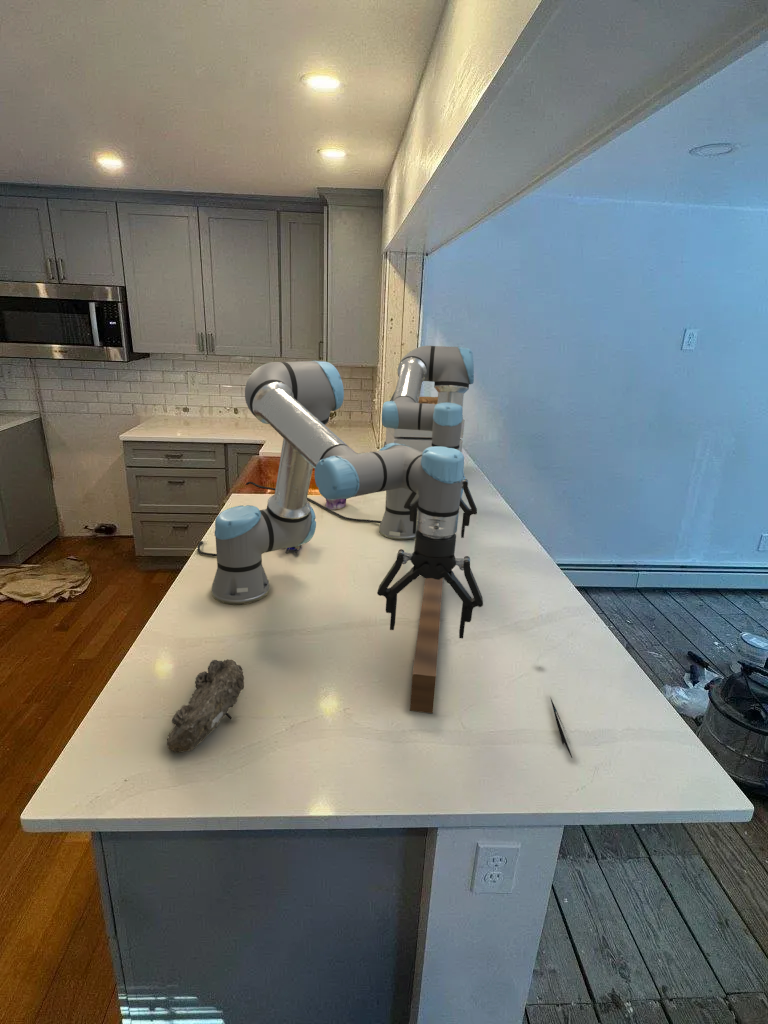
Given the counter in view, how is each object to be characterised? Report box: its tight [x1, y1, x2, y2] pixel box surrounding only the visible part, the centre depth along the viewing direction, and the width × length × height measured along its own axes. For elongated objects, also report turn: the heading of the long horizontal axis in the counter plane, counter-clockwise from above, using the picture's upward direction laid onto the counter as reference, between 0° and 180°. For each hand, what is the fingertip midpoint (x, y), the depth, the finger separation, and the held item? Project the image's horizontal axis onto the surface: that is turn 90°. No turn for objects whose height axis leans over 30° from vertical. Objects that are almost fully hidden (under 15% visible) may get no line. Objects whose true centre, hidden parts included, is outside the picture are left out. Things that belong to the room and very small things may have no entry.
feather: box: [539, 666, 573, 758], centre depth 114 cm, size 2×28×2 cm
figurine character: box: [284, 544, 302, 554], centre depth 184 cm, size 7×8×15 cm
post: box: [409, 578, 444, 714], centre depth 140 cm, size 62×5×9 cm, turn 173°
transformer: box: [383, 391, 465, 454], centre depth 268 cm, size 34×33×41 cm
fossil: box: [166, 658, 245, 754], centre depth 106 cm, size 22×10×15 cm
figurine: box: [325, 498, 347, 510], centre depth 222 cm, size 9×10×15 cm
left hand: (426, 630), depth 112 cm, fingers open, 13 cm apart
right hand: (438, 533), depth 160 cm, fingers open, 13 cm apart
